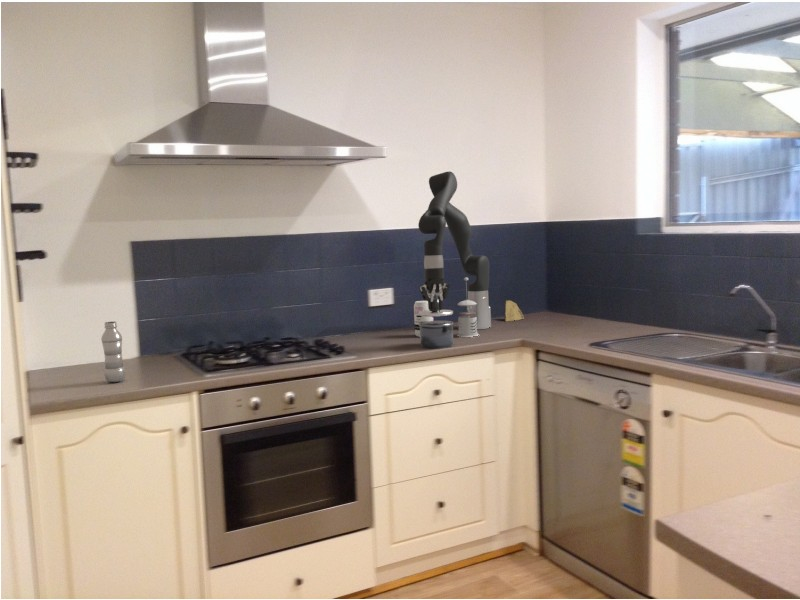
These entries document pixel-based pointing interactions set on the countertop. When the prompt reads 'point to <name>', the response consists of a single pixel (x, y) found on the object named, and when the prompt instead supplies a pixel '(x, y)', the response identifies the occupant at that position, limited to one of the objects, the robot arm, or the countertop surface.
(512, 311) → the yellow wedge
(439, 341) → the pot
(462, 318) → the french press
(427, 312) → the lid
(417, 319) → the supplement can
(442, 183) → the robot arm
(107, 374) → the plastic bottle
